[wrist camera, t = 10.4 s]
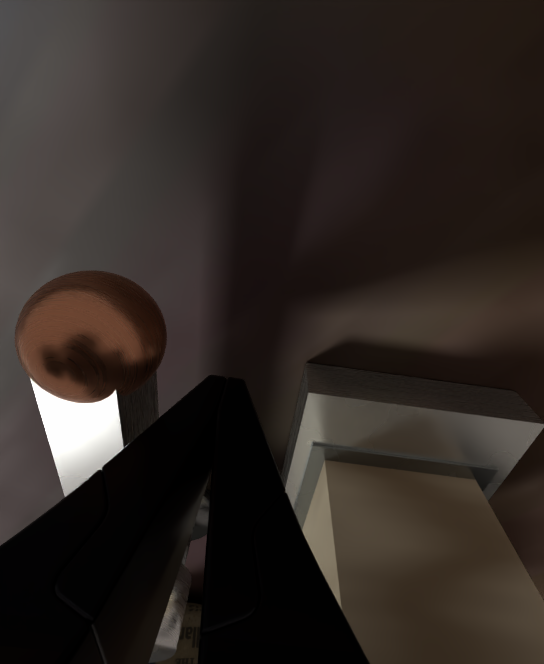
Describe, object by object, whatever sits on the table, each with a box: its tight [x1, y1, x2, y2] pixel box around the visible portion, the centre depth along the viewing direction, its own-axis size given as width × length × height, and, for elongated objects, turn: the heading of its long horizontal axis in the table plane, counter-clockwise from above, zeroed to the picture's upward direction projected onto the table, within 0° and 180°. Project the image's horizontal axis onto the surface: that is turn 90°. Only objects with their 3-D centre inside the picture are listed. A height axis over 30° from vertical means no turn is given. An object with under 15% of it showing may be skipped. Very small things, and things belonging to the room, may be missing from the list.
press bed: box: [281, 363, 544, 529], centre depth 12 cm, size 7×9×2 cm
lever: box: [15, 271, 192, 663], centre depth 9 cm, size 3×14×2 cm, turn 172°
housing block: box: [302, 460, 544, 664], centre depth 9 cm, size 5×5×6 cm
